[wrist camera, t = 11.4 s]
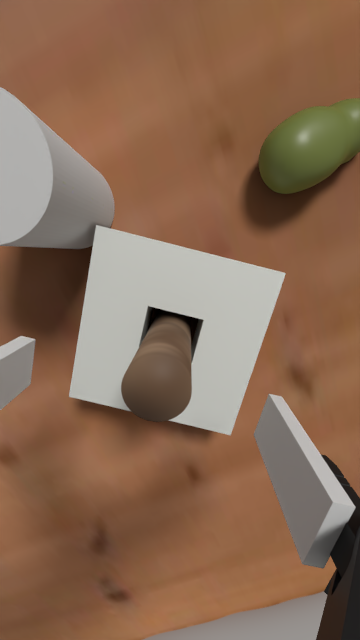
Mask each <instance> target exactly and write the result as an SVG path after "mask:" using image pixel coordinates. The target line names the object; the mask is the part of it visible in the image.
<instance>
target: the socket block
mask: <svg viewBox="0 0 360 640" xmlns="http://www.w3.org/2000/svg"><path fill="white" fill-rule="evenodd" d="M285 274H286V273H283V272H279V271H275V270H271V269H267V268H263V267H259V266H255V265H251V264H248V263H244V262H240V261H236V260H232V259H228V258H224V257H220V256H216V255H212V254H208V253H204V252H200V251H197V250H193V249H189V248H185V247H181V246H177V245H173V244H169V243H165V242H161V241H157V240H153V239H149V238H146V237H142V236H138V235H134V234H130V233H126V232H122V231H118V230H114V229H110V228H106V227H102V226H98V225H96V229H95V235H94V242H93V248H92V254H91V261H90V267H89V273H88V280H87V286H86V292H85V299H84V305H83V311H82V318H81V324H80V330H79V337H78V343H77V349H76V356H75V362H74V368H73V375H72V381H71V387H70V393H69V397H73V398H77V399H81V400H85V401H90V402H94V403H98V404H102V405H106V406H111V407H115V408H119V409H123V410H127V411H131V410H130V409H129V408H128V407H127V405H126V404H125V402H124V400H123V397H122V393H121V383H122V379H123V377H124V374H125V372H126V371H127V369H128V367H129V365H130V363H131V361H132V360H133V358H134V356H135V354H136V352H137V350H138V349H139V347H140V345H141V343H142V341H143V339H144V338H145V336H146V334H147V331H148V327H149V322H150V318H151V314H152V309H153V307H154V308H158V309H162V310H166V311H170V312H174V313H178V314H182V315H186V316H190V317H194V318H198V323H197V327H196V330H195V334H194V338H193V341H192V345H191V374H192V394H191V399H190V402H189V404H188V406H187V407H186V409H185V410H184V411H183V412H182V413H181V414H180V415H178V416H177V417H175V418H173V419H170V420H169V421H173V422H178V423H182V424H186V425H190V426H194V427H198V428H203V429H207V430H211V431H215V432H219V433H224V434H228V435H231V432H232V429H233V426H234V423H235V420H236V417H237V415H238V412H239V409H240V406H241V403H242V400H243V397H244V394H245V391H246V388H247V385H248V382H249V379H250V376H251V374H252V371H253V368H254V365H255V362H256V359H257V356H258V353H259V350H260V347H261V344H262V341H263V338H264V335H265V333H266V330H267V327H268V324H269V321H270V318H271V315H272V312H273V309H274V306H275V303H276V300H277V297H278V295H279V292H280V289H281V286H282V283H283V280H284V277H285ZM131 412H132V411H131Z"/></svg>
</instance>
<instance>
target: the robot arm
mask: <svg viewBox="0 0 360 640" xmlns="http://www.w3.org/2000/svg"><path fill="white" fill-rule="evenodd" d="M34 348H35V339H33V338H28V337H24V336H20V337H18V338H16V339H14V340H12V341H10V342H9V343H7V344H5V345H3V346H1V347H0V410H1V409H2V408H3V407H5V406H6V405H7V404H8V403H9V402H10V401H12V400H13V399H14V398H15V397H16V396H17V395H19V394H20V393H21V392H22V391H23V390H24V389H25V388H27V387H28V386H29V385H30V383H31V374H32V366H33V357H34ZM254 437H255V439H256V442H257V445H258V447H259V450H260V453H261V455H262V458H263V461H264V463H265V466H266V469H267V471H268V474H269V477H270V479H271V482H272V485H273V487H274V490H275V493H276V495H277V498H278V501H279V503H280V506H281V509H282V511H283V514H284V517H285V519H286V522H287V525H288V527H289V530H290V532H291V535H292V538H293V540H294V543H295V546H296V548H297V551H298V554H299V556H300V559H301V562H302V564H304V565H309V566H314V567H319V568H324V567H325V565H326V563H327V561H328V559H329V557H330V555H331V557H332V559H333V562H334V564H335V566H336V568H337V569H336V571H335V572H334V574H333V576H332V578H331V580H330V582H329V583H328V585H327V587H326V589H325V591H324V592H325V593H326V594H327V595H328V596H327V600H326V604H325V607H324V611H323V615H322V619H321V623H320V627H319V631H318V635H317V639H316V640H360V498H359V497H358V495H357V494H356V492H355V491H354V490H353V488H352V487H350V484H349V483H348V481H347V480H346V478H344V475H343V474H342V473H341V471H340V470H339V468H338V467H337V466H336V465H335V464H334V463H333V462H332V461H331V460H330V459H329V458H328V457H327V456H325V455H321V454H320V453H319V451H318V450H317V448H316V447H315V445H314V444H313V442H312V441H311V439H310V438H309V436H308V435H307V433H306V432H305V431H304V429H303V428H302V426H301V425H300V423H299V422H298V420H297V419H296V417H295V416H294V414H293V413H292V411H291V410H290V408H289V407H288V405H287V404H286V402H285V401H284V399H283V398H282V397H281V396H276V395H272V394H269V395H268V398H267V400H266V403H265V406H264V408H263V411H262V414H261V417H260V419H259V422H258V425H257V427H256V430H255V433H254Z"/></svg>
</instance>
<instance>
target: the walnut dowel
mask: <svg viewBox="0 0 360 640" xmlns="http://www.w3.org/2000/svg"><path fill="white" fill-rule="evenodd" d="M121 393H122V397H123V400H124V402H125V404H126V405H127V407H128V408H129V409H130V410H131V411H132V412H133V413H134V414H135V415H137V416H139V417H140V418H143V419H145V420H148V421H155V422H161V421H167V420H170V419H173V418H175V417H177V416H178V415H180V414H181V413H182V412H183V411H184V410H185V409H186V407H187V406H188V404H189V402H190V399H191V394H192V374H191V323H190V319H189V317H188V316H186V315H182V314H178V313H174V312H170V311H166V310H162V311H160V312H159V313H158V314H157V316H156V317H155V319H154V321H153V323H152V325H151V327H150V328H149V330H148V332H147V334H146V336H145V338H144V339H143V341H142V343H141V345H140V347H139V349H138V350H137V352H136V354H135V356H134V358H133V360H132V361H131V363H130V365H129V367H128V369H127V371H126V372H125V374H124V377H123V379H122V383H121Z"/></svg>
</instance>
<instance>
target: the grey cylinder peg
mask: <svg viewBox="0 0 360 640" xmlns="http://www.w3.org/2000/svg"><path fill="white" fill-rule="evenodd" d="M113 218H114V199H113V195H112V192H111V189H110V187H109V185H108V183H107V181H106V180H105V178H104V177H103V176H102V175H101V174H100V173H99V172H98V171H97V170H96V169H95V168H94V167H93V166H92V165H91V164H89V163H88V162H87V161H86V160H85V159H84V158H83V157H82V156H80V155H79V154H78V153H77V152H76V151H75V150H74V149H73V148H72V147H70V146H69V145H68V144H67V143H66V142H65V141H64V140H63V139H62V138H60V137H59V136H58V135H57V134H56V133H55V132H54V131H53V130H52V129H50V128H49V127H48V126H47V125H46V124H45V123H44V122H43V121H41V120H40V119H39V118H38V117H37V116H36V115H35V114H34V113H33V112H31V111H30V110H29V109H28V108H27V107H26V106H25V105H24V104H23V103H21V102H20V101H19V100H18V99H17V98H16V97H15V96H13V95H12V94H11V93H9V92H8V91H6V90H5V89H3V88H1V87H0V246H19V247H42V248H65V249H83V248H87V247H90V246H93V242H94V235H95V229H96V225H98V226H102V227H106V228H110V227H111V225H112V222H113Z"/></svg>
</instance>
